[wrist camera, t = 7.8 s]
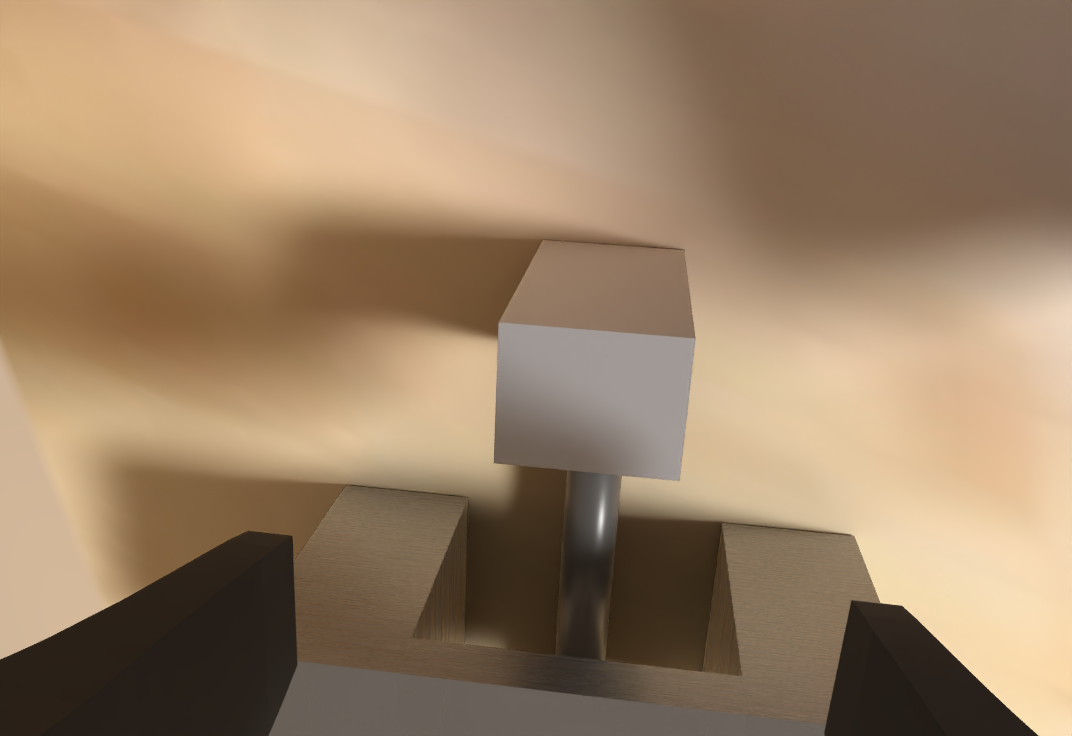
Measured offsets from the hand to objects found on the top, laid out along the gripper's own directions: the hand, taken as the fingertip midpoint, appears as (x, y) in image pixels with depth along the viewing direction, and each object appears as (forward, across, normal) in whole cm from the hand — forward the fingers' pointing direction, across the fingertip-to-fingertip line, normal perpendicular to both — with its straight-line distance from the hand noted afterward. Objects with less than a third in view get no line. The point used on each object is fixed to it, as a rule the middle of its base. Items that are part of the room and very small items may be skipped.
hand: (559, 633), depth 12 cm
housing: (+9, 0, +6) cm, 11 cm away
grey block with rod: (+9, 0, +5) cm, 11 cm away
